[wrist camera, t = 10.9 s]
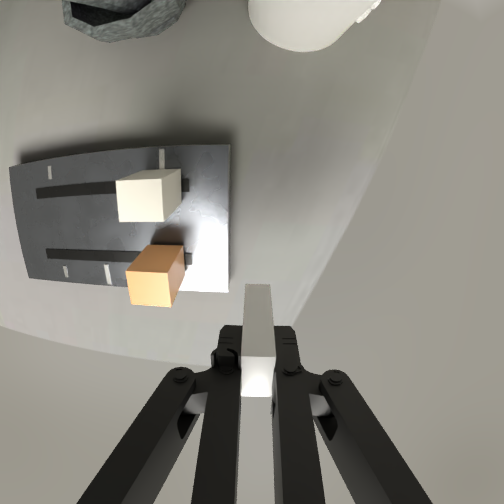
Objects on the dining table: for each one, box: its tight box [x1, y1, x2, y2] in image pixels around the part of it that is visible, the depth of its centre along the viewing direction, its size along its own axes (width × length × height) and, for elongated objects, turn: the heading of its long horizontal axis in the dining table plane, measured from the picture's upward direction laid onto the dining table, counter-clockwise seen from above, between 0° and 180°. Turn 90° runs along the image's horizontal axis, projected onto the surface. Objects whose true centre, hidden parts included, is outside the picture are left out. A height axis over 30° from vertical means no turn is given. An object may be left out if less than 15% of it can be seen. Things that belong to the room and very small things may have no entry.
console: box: [9, 144, 231, 292], centre depth 23 cm, size 22×12×2 cm, turn 88°
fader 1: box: [116, 169, 182, 222], centre depth 19 cm, size 3×3×5 cm
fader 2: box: [125, 245, 185, 307], centre depth 21 cm, size 3×3×5 cm
